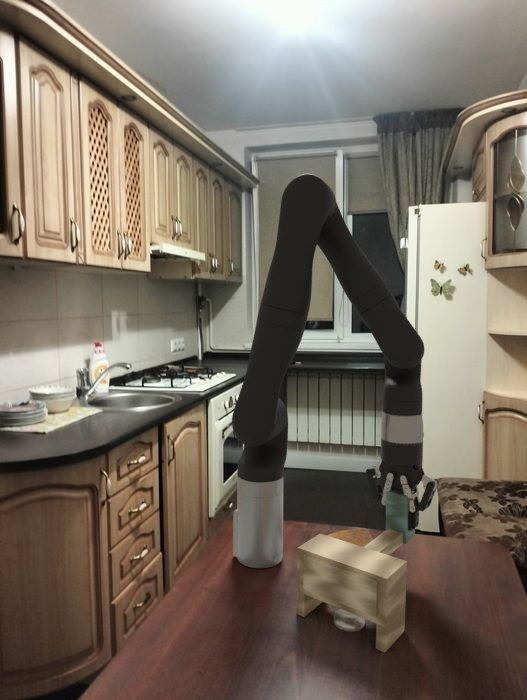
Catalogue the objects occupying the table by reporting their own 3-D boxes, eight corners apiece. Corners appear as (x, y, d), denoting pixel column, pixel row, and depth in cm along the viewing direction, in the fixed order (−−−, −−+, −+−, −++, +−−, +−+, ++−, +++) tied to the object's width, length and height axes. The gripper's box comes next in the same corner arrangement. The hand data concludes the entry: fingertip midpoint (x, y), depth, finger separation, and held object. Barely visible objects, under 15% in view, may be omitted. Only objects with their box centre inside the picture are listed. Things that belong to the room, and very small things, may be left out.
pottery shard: (321, 541, 120) (321, 530, 119) (356, 533, 124) (356, 522, 123) (348, 562, 110) (349, 550, 110) (386, 553, 114) (386, 541, 114)
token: (327, 624, 89) (327, 617, 89) (344, 611, 93) (344, 604, 92) (354, 637, 86) (354, 629, 85) (370, 623, 89) (370, 616, 89)
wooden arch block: (295, 614, 91) (296, 548, 90) (319, 596, 97) (320, 533, 96) (384, 653, 81) (386, 579, 80) (404, 630, 87) (406, 561, 86)
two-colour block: (356, 560, 94) (357, 509, 93) (394, 531, 105) (395, 485, 105) (378, 567, 91) (378, 515, 90) (414, 536, 103) (415, 490, 102)
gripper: (357, 434, 102) (356, 523, 104) (431, 447, 93) (429, 543, 95) (376, 427, 108) (374, 511, 110) (447, 438, 99) (445, 529, 101)
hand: (400, 526), depth 102 cm, fingers closed on two-colour block, 4 cm apart
